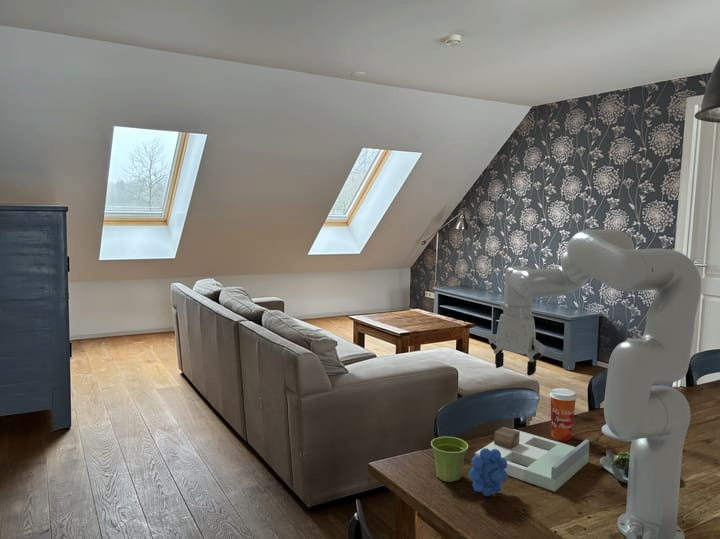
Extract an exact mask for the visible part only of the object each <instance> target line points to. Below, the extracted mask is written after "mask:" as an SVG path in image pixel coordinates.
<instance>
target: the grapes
mask: <svg viewBox="0 0 720 539" xmlns="http://www.w3.org/2000/svg"><path fill="white" fill-rule="evenodd" d="M483 448H484V447H483ZM481 449H482V448H481ZM471 465H472V467H473V468H471V469H470V470H469V471H468V477H469V479H470V480H471V481H472V488H473V490H474V491H475V492H476V493H482V495H483V496H484V497H490V496H492V495H493V492H494V493H499V492H501V491H502V489H503V482H506V481H507V480H508V478H509V477H508V476H509V475H507V472H506V471H505V470H504V469H506V467H507V461H506V459H505V458H503V457H501V453H500V451H499V450H497V449H492V450H491V451H490V450H489V449H487V448H484V449H482V450H481V451H480V456H475V455H474V456H473V457H472V458H471Z"/></svg>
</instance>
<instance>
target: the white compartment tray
mask: <svg viewBox="0 0 720 539" xmlns="http://www.w3.org/2000/svg"><path fill="white" fill-rule="evenodd" d="M513 430H516V431H519V432H520V437H519V444H518V445H517V446H515V447H514V448H512V449H508V448H505V447H502V446H499V445H495V444H494V440H493V441H491V442H490V443H488V444H487V445H485V446H484V447H482V448H481V449H479V450H476V452H474V457H475V456H480V451H481V450H482V449H484V448H487V449H489V450H490V451H491V450H492V449H497V450H499V451H500V453H501V457H503V458H505V459H506V461H507V467H506V469H504V470H505V471H506V472H507V475H508V476H509V477H512V478H515V479H518V480H521V481H523V482H526V483H529V484H532V485H535V486H537V487H540V488H543V489H546V490H549V491H551V492H554V493H555V492H556V491H557V490H558V489H560V487H562V486H563V485H564V484H565V483H566V482H567V481H568V480H570V479H571V478H572V477H573V476H574V475H575V474H576V473H577V472H579V471H580V470H581V469H582V468H583V467H584V466H585V465H587V464H588V462H589V459H590V458H589V457H590V456H589V454H590V439H584V440H583V441H582V442H581V443H579V444H578V445H577V446H573V445H570V444H566V443H562V442H559V441H557V440H556V441H555V440H552V439H548V438H545V437H542V436H539V435H535V434H532V433H528V432H525V431H521V430H518V429H514V428H513Z"/></svg>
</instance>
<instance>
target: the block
mask: <svg viewBox="0 0 720 539" xmlns="http://www.w3.org/2000/svg"><path fill="white" fill-rule="evenodd" d="M513 429H514V428H513ZM513 429H512V428H509V427H506V426H503V427H501V428H499V429H497V430H495V431H494V437H493V439H494V440H493V441H494V444H495V445H499V446H502V447H505V448H508V449H512V448H514V447H515V446H517V445H518V444H519V437H520V432H519V431H520V430H518V431H516V430H517V429H515V430H513Z"/></svg>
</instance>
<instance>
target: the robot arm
mask: <svg viewBox="0 0 720 539" xmlns="http://www.w3.org/2000/svg"><path fill="white" fill-rule="evenodd" d="M504 274H505V275H504V276H505V278H504V293H503V294H504V297H503V304H500V305H499V308H500V310H502V311H503V312H502V313H501V314H500V316H499V319H498V320H499V321H498V323H497V330H496V333H495V334H492V335H488V337H487V339H488V342H489V344H490V345H489V346H490V348H491V350H493V354H495V356H494V357H495V358H494V363H495V368H496V369H499V368H502V367H503V366H504V362H505V360H504V358H505V357H504V356H505V354H504V352H503V351H505V352H510V353H514V354H518V355H519V354H520V355H526V357H527V358H528V361H527V368H526V375H527V376H529V377H531V376H533V375H534V374H535V373H536V371H537V361H538V360H540V358H541V357H543V355H544V354H545V352H546V350H547V346H545V345H544V344H543V343H541V342H540V341H539V340H537V338H536V337H537V335H536V334H537V333H536V325H535V318H534V316H532V315H533V311H532V310H533V299H540V298H552V297H554V298H555V297H561V296H564V295H568V294H570V293H572V292H575V291H578V290H580V289H581V288H583V287H584V286H585V284H586V283H587V282H588V280H591V279H595V280H597V281H598V282H600V283H602V284H604V285H605V286H607V287H609V288H611V289H613V290H616V291H619V292H623V293H625V292H629V293H630V292H632V293H633V292H641V291H652V290H653V291H654V290H655V291H656V292H657V294H656V295H655V297H654V299H653V300H652V302H651V304H650V306H649V307H648V309H647V313H646V320H645V328H644V331H643V335H642V337H639V338H633V339H630V340H627V339H626V340H624V341H622V342H620V343H618V344H617V345H616V346H615V348H613V350H612V352H611V354H610V357H609V361H608V366H607V373H606V374H607V375H606V381H605V382H606V383H605V391H604V401H603V402H604V403H603V414H604V420H605V424H607V426H608V428H609V429H610V431H611V432H612V433H613V434H614V435H616V436H617V437H619V438H621V439H624V440H632V442H630V443H631V444H630V449H629V453H630V457H629V473H628V485H627V494H626V508H625V509H626V510H625V512H624V513H622V514H621V515H619V516H618V518H617V524H616V525H617V528H618V530H619V532H620V533H621V534H622V535H623V536H625V537H626V539H685V533H684V531H683V530H682V529H681V527H680V526H678V512H679V500H680V486H681V485H680V484H681V473H682V472H681V471H682V470H681V469H682V464H683V463H682V461H683V452H684V451H683V450H684V444H685V439H686V436H687V433H688V430H689V426H690V421H691V408H690V404H689V401H688V400H687V398H686V397H685V395H684V394H683V393H682V392H681V391H679V390H678V389H676V388H674V387H672V386H667V385H665V384H670V383H675V382H678V381H681V380H682V379H684V377H686V376H687V373H688V370H689V365H690V361H691V355H692V354H691V352H692V348H693V346H692V345H693V339H694V331H695V322H696V316H697V311H698V307H699V303H700V299H701V293H702V280H701V279H702V278H701V275H700V272H699V269H698V268H697V266H696V264H695V263H694V262H693V261H692V260H691V258H689V256H687V255H686V254H684V253H682V252H679V251H676V250H674V249H670V248H641V249H638V248H636V249H635V244H634V241H633V239H632V237H630V236H629V234H627V233H626V232H624V231H621V230H618V229H614V228H613V229H609V228H608V229H607V228H606V229H605V228H604V229H603V228H602V229H584V230H580V231H578V232H576V233H575V234H574V235H572V237H571V238H570V240H569V241H568V244H567V249H566V250H565V251H564V252H563V254H562V255H561V258H560V267H556V268H536V269H532V267H529V266H521V265H520V266H519V265H518V266H517V265H513V266H512V265H511V266H509V267H507V268H506V270H505V273H504ZM536 349H538V351H537V353H536V351H535V350H536Z"/></svg>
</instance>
